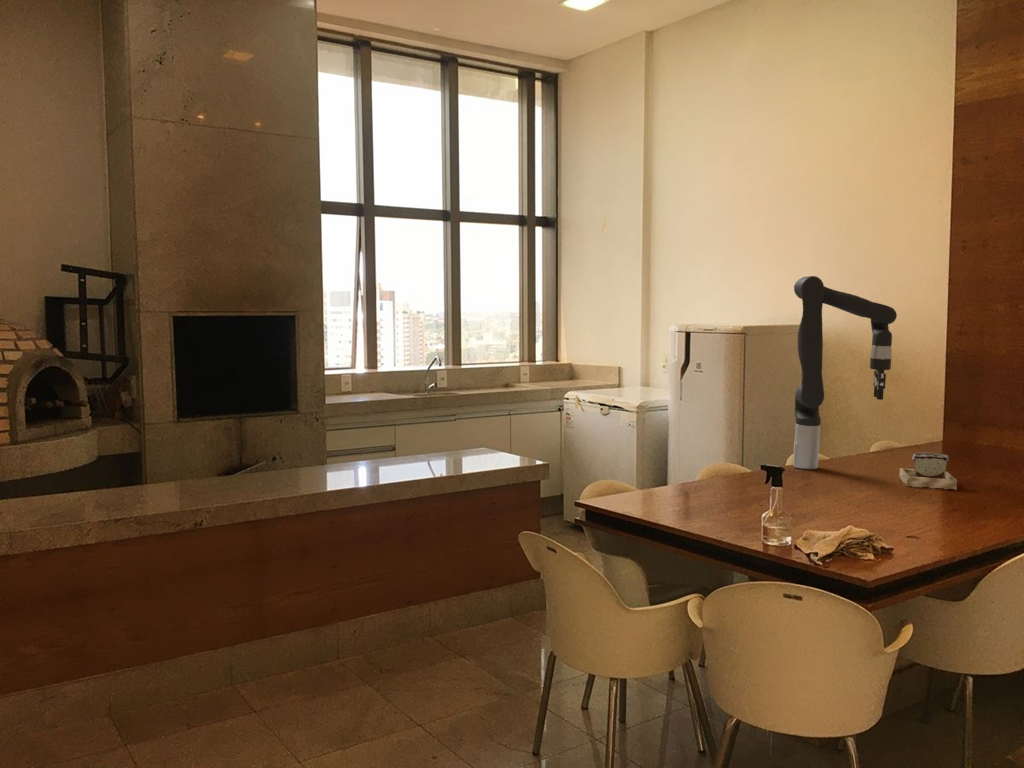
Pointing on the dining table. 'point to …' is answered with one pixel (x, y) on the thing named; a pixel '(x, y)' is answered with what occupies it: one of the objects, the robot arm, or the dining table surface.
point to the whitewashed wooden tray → (927, 480)
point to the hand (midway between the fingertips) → (878, 398)
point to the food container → (930, 465)
